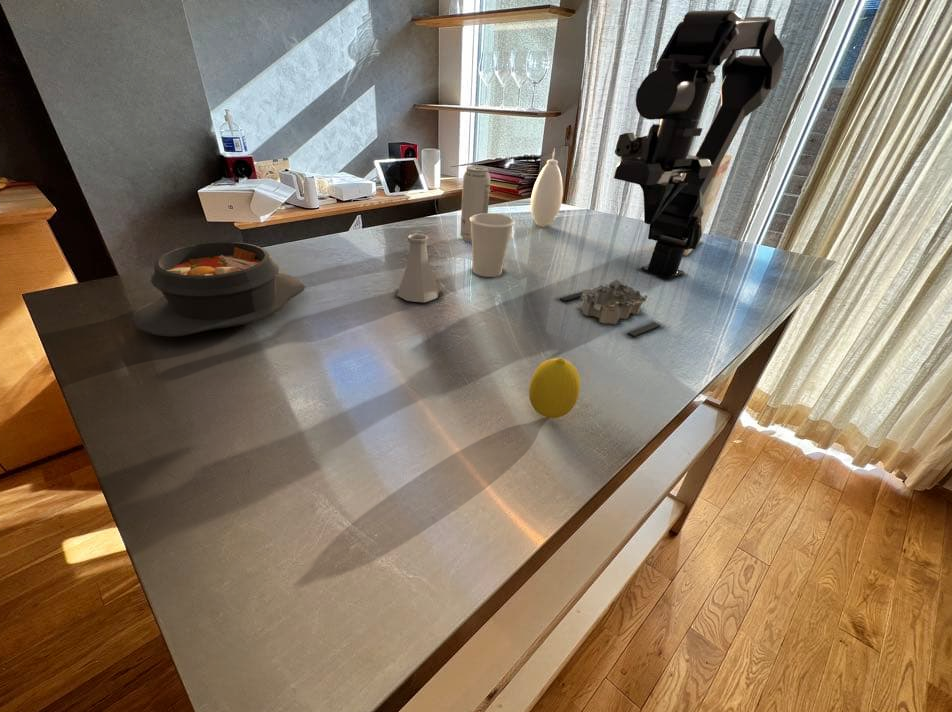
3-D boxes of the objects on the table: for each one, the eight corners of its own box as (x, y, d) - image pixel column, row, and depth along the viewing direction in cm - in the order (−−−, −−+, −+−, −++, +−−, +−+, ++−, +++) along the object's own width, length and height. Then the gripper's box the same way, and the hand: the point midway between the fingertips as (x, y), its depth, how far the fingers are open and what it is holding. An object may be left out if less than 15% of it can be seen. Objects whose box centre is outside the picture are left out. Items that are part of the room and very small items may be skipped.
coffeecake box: (672, 235, 116) (701, 151, 104) (701, 242, 112) (734, 155, 101) (656, 249, 106) (685, 157, 94) (686, 256, 103) (721, 162, 91)
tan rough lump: (608, 328, 71) (614, 304, 69) (573, 310, 76) (578, 287, 73) (647, 312, 77) (654, 290, 74) (611, 297, 81) (617, 275, 79)
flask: (446, 292, 79) (448, 235, 73) (426, 307, 74) (427, 246, 68) (410, 283, 81) (410, 227, 75) (389, 297, 76) (386, 238, 70)
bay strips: (585, 292, 82) (586, 290, 82) (659, 326, 72) (660, 325, 72) (559, 299, 79) (559, 298, 79) (633, 337, 69) (634, 335, 69)
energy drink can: (461, 234, 107) (465, 164, 98) (486, 236, 106) (492, 167, 97) (458, 241, 102) (461, 169, 93) (484, 244, 102) (490, 171, 92)
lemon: (520, 402, 54) (530, 345, 49) (564, 402, 54) (578, 345, 49) (529, 432, 49) (541, 373, 45) (577, 432, 50) (594, 373, 45)
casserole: (262, 273, 81) (251, 226, 76) (332, 302, 73) (325, 252, 68) (112, 320, 64) (85, 263, 59) (181, 364, 56) (157, 303, 51)
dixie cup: (486, 282, 83) (492, 228, 77) (457, 269, 88) (460, 216, 82) (516, 273, 88) (524, 221, 82) (487, 261, 93) (492, 210, 87)
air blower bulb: (526, 228, 114) (538, 148, 103) (528, 220, 120) (538, 144, 109) (557, 231, 113) (571, 151, 102) (556, 223, 119) (570, 147, 108)
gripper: (668, 113, 78) (641, 207, 87) (599, 112, 69) (577, 218, 78) (729, 120, 71) (693, 222, 80) (661, 121, 62) (629, 235, 71)
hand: (648, 223), depth 78 cm, fingers closed
